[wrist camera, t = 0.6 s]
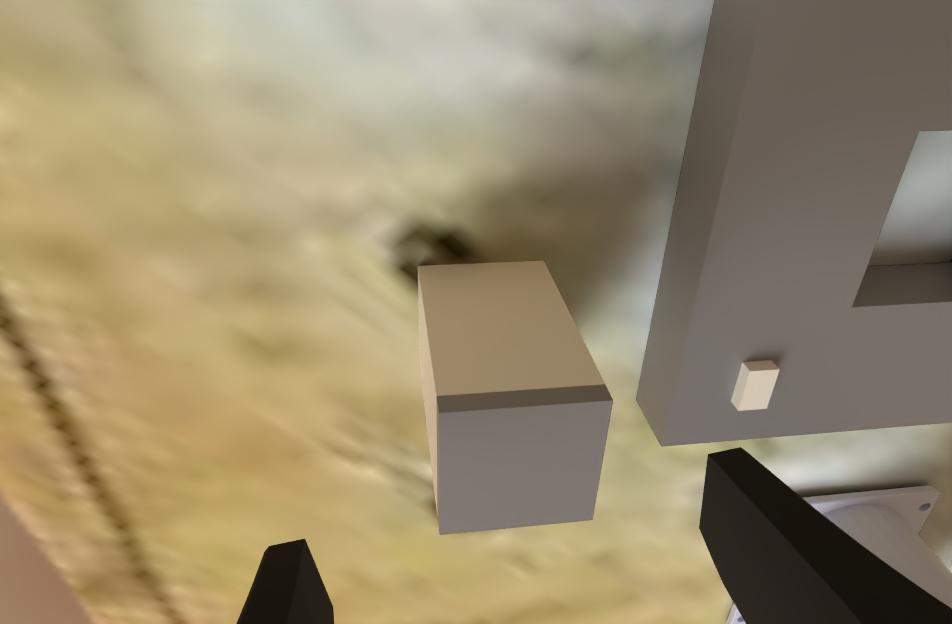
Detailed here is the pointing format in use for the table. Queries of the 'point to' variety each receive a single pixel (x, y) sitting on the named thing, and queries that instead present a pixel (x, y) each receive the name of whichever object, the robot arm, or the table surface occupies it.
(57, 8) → the table surface
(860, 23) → the socket block
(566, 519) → the plug
